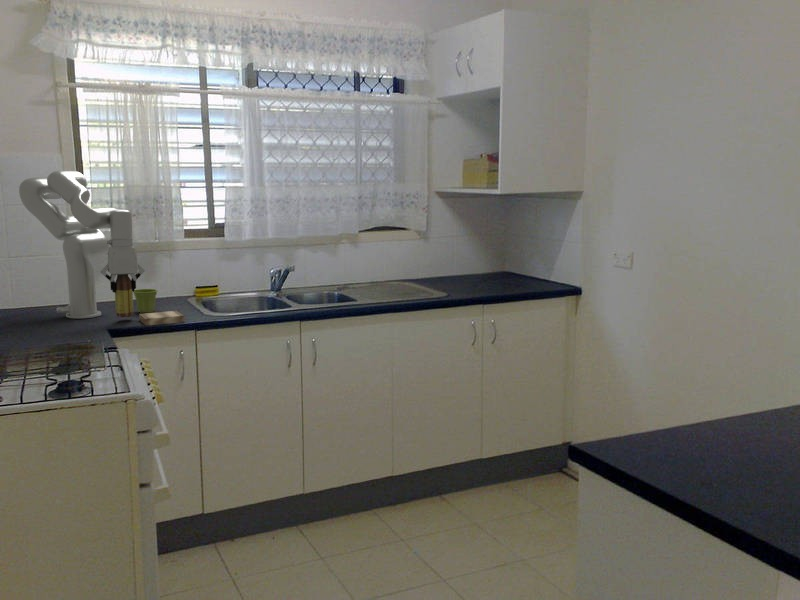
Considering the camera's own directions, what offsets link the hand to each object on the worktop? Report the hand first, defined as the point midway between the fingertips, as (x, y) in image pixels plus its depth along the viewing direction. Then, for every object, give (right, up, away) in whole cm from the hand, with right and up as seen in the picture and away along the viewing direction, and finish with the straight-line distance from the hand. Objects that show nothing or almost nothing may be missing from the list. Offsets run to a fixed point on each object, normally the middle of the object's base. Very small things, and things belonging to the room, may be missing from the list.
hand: (123, 291), depth 278 cm
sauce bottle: (0, -10, +2) cm, 10 cm away
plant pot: (+1, -8, +21) cm, 22 cm away
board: (+14, -11, +2) cm, 18 cm away
